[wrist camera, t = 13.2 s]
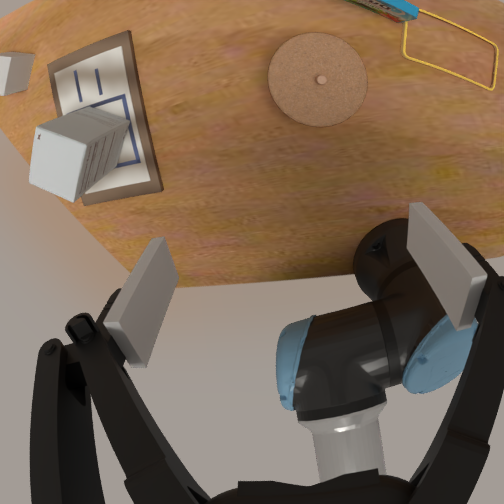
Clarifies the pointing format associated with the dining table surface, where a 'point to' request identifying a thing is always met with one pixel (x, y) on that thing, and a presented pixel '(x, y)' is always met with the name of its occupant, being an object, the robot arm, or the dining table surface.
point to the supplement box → (76, 151)
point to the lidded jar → (317, 79)
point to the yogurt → (390, 9)
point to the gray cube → (15, 71)
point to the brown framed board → (110, 111)
